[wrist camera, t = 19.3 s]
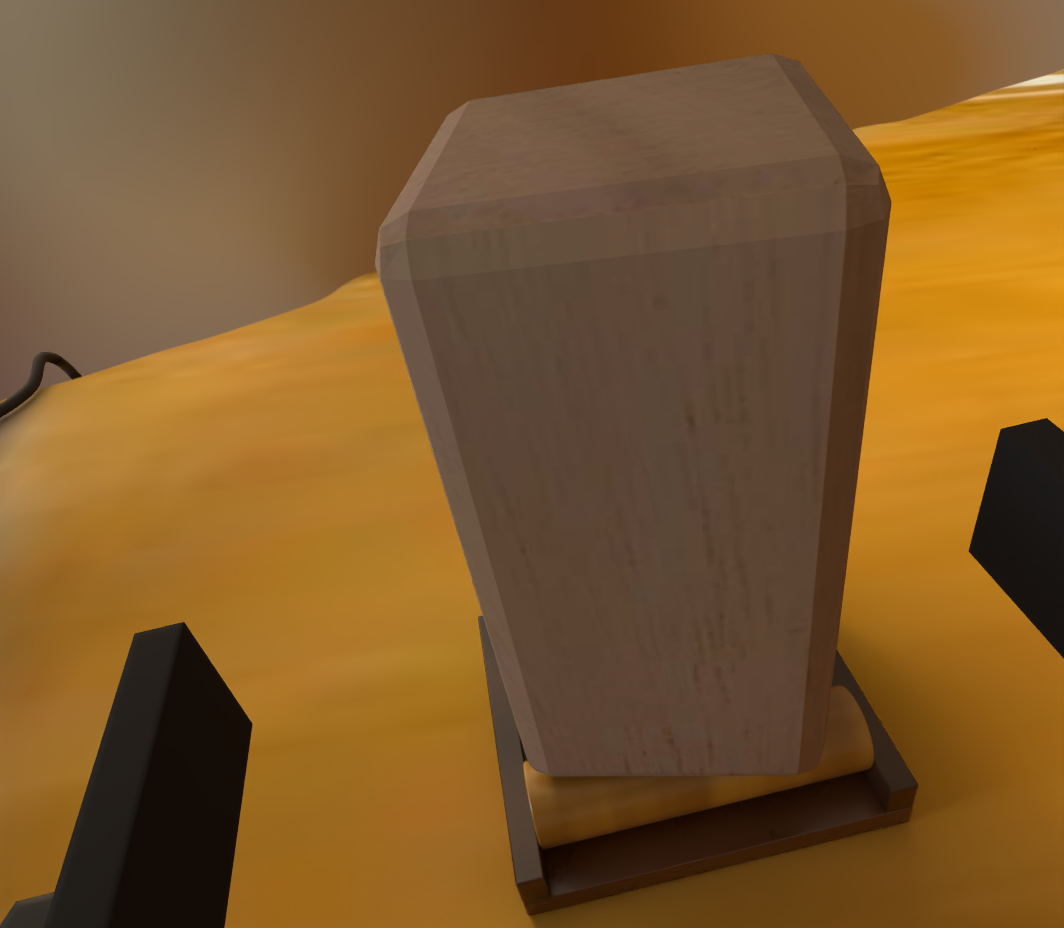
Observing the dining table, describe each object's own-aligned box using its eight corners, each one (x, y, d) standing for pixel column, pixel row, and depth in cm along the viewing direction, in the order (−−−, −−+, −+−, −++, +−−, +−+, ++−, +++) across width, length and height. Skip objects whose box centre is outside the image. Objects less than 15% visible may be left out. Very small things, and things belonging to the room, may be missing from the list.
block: (779, 563, 33) (804, 38, 21) (828, 789, 25) (914, 165, 13) (546, 574, 35) (441, 96, 22) (525, 789, 27) (347, 237, 15)
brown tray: (488, 650, 37) (470, 593, 34) (773, 582, 37) (776, 521, 35) (528, 916, 27) (507, 865, 25) (909, 821, 28) (926, 761, 25)
